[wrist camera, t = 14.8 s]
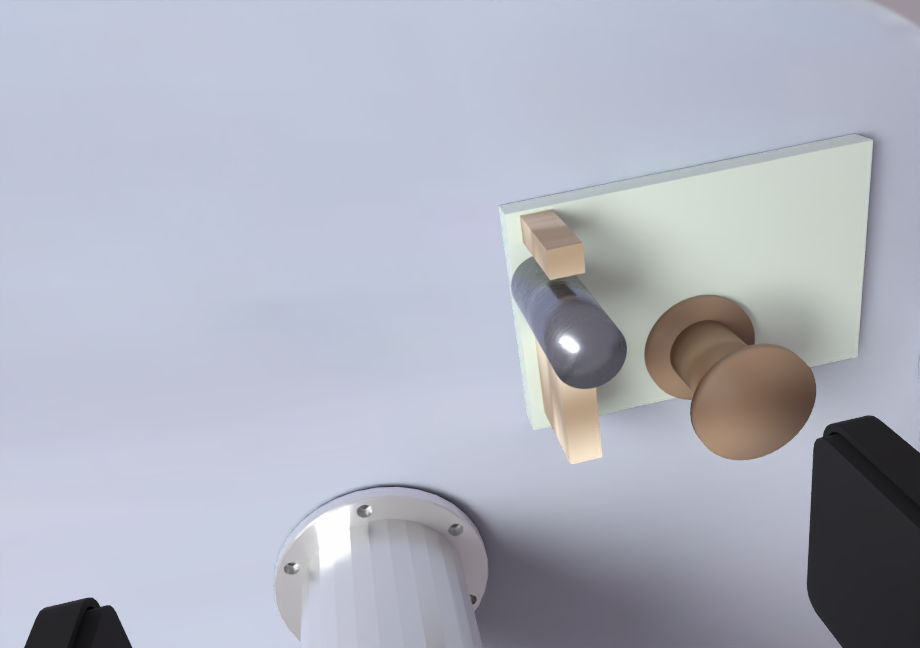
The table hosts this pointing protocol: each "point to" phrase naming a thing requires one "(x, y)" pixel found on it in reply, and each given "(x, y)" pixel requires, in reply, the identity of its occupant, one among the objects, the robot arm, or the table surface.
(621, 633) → the table surface
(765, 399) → the bobbin
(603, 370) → the peg
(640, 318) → the base board
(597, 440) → the notched rail
